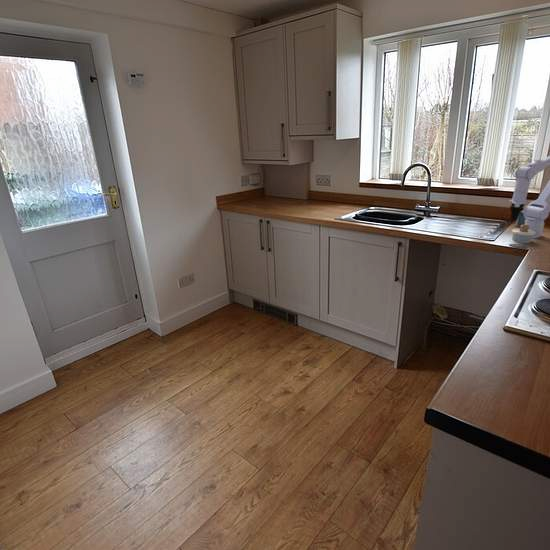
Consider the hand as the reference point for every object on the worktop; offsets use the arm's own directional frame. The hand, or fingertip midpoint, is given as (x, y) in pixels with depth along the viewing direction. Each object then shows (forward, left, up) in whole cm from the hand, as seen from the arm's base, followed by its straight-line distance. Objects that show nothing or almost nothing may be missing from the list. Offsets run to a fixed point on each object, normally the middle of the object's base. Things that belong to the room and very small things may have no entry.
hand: (514, 219), depth 186 cm
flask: (-31, -8, -11) cm, 34 cm away
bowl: (-1, +5, -10) cm, 12 cm away
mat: (+10, +9, -10) cm, 17 cm away
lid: (-1, +5, -6) cm, 8 cm away
